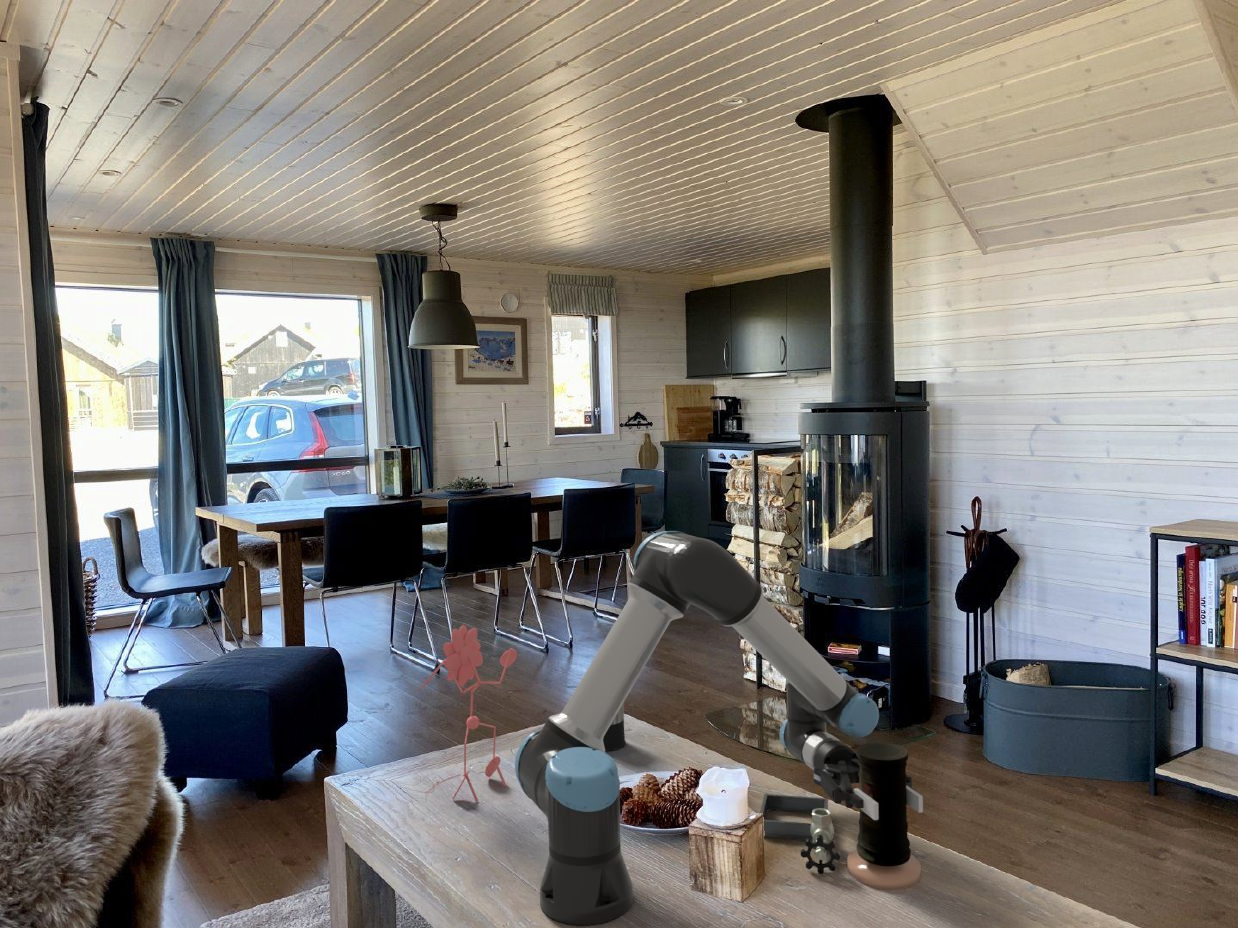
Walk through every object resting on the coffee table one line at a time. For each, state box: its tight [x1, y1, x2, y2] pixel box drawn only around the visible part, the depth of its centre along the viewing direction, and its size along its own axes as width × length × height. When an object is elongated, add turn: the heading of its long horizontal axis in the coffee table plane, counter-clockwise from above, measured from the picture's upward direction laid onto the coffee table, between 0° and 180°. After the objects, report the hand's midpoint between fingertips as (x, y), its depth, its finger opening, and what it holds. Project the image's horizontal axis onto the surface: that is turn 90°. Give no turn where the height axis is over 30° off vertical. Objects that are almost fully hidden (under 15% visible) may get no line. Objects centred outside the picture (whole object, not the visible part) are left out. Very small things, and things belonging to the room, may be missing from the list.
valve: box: [800, 808, 841, 875], centre depth 164 cm, size 7×7×12 cm
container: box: [855, 741, 912, 866], centre depth 158 cm, size 9×9×18 cm
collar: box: [759, 793, 829, 842], centre depth 177 cm, size 12×12×3 cm
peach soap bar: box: [846, 849, 922, 890], centre depth 159 cm, size 12×12×2 cm
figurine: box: [418, 624, 518, 803], centre depth 199 cm, size 15×26×35 cm, turn 148°
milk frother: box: [603, 701, 627, 752], centre depth 220 cm, size 14×16×15 cm
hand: (898, 808), depth 154 cm, fingers closed on container, 8 cm apart
